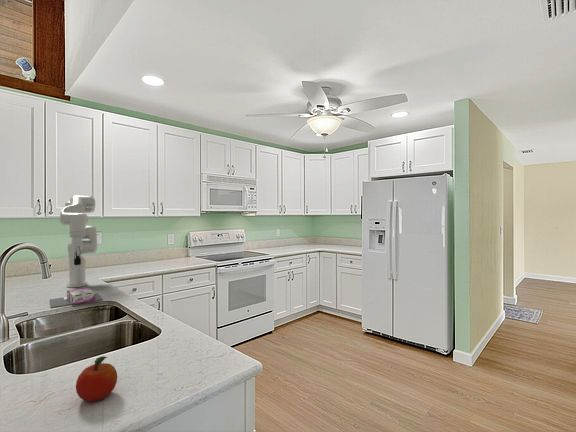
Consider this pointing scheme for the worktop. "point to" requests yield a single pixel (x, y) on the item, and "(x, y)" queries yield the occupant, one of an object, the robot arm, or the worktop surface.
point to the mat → (65, 302)
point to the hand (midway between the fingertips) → (77, 264)
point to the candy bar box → (80, 295)
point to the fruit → (96, 381)
